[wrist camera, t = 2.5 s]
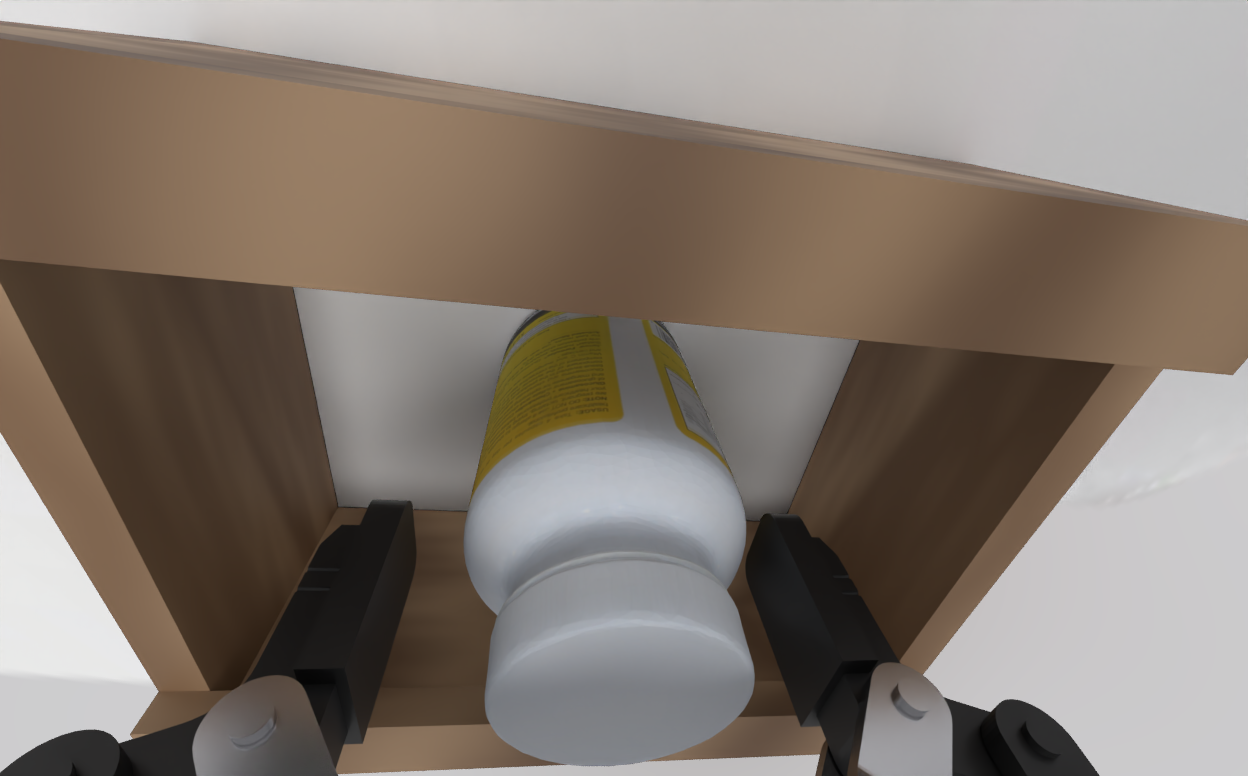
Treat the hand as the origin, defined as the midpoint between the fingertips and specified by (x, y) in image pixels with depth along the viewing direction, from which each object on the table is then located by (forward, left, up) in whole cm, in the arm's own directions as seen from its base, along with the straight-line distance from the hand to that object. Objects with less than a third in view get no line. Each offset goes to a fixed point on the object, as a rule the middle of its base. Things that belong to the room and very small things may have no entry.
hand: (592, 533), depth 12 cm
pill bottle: (0, 0, -8) cm, 8 cm away
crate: (0, 0, -8) cm, 8 cm away
